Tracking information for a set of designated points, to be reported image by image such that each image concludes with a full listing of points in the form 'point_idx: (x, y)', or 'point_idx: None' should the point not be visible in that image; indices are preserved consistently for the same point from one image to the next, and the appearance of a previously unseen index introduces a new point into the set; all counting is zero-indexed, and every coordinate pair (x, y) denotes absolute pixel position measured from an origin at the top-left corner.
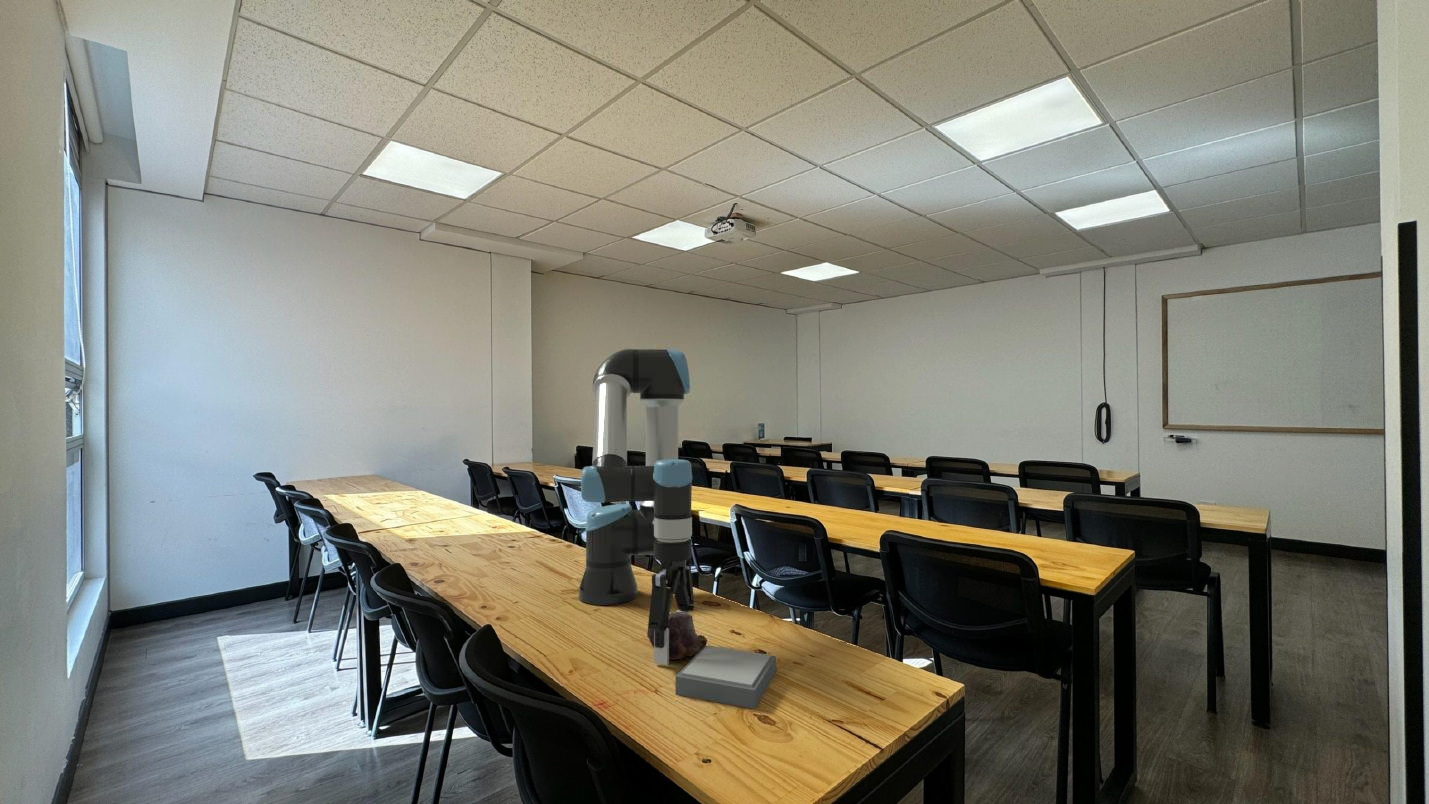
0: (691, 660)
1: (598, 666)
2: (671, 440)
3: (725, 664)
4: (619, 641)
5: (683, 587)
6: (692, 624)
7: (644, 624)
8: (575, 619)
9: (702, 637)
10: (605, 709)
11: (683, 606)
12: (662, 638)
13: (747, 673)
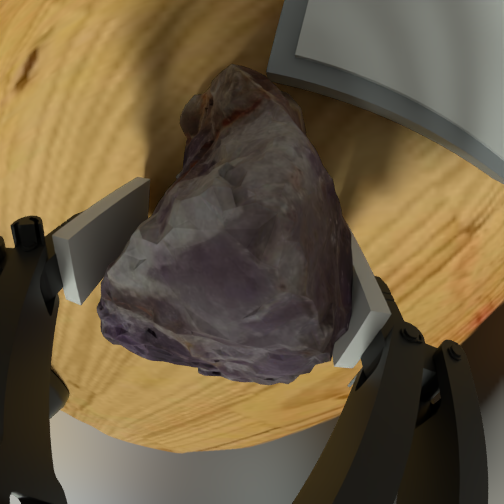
0: (444, 135)
1: (325, 372)
2: None
3: (472, 13)
4: None
5: (2, 434)
6: (285, 157)
7: (70, 320)
8: (122, 408)
9: (244, 85)
10: (496, 305)
11: (42, 284)
12: (387, 304)
13: None
